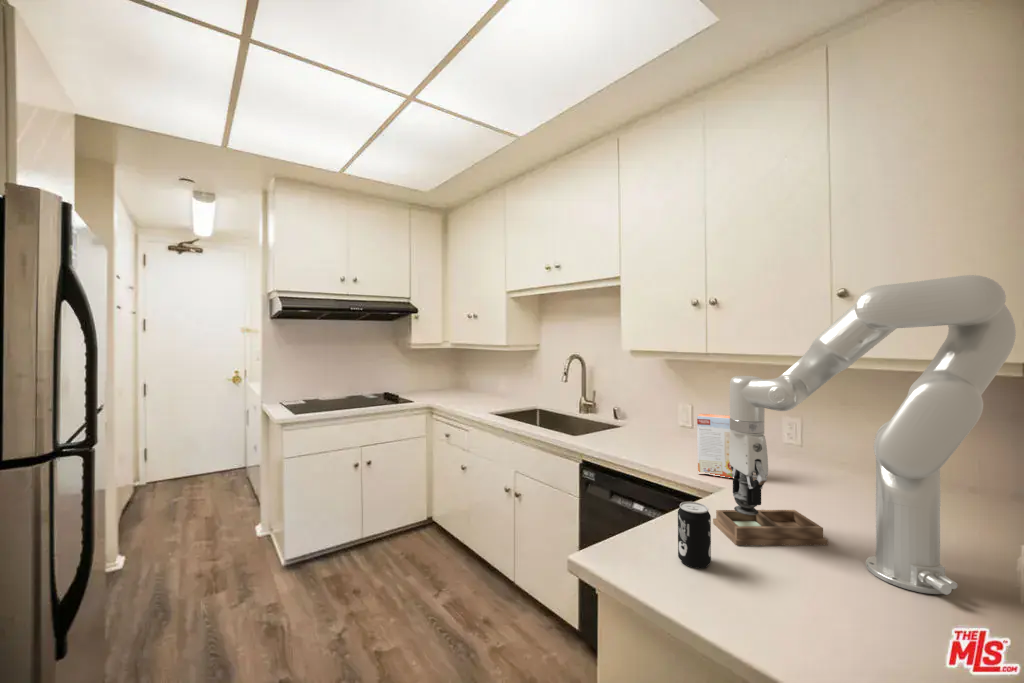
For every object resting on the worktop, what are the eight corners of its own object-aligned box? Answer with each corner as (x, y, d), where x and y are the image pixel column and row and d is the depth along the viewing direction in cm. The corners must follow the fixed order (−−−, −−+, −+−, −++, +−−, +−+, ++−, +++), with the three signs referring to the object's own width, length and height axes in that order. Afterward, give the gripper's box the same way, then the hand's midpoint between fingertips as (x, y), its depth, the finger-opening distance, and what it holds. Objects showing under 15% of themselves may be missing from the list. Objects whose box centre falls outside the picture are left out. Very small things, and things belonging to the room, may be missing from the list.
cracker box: (743, 476, 148) (743, 415, 148) (742, 481, 143) (742, 418, 143) (700, 469, 155) (699, 412, 155) (697, 474, 150) (696, 415, 150)
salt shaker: (763, 516, 102) (764, 466, 102) (737, 514, 103) (737, 465, 103) (755, 506, 108) (755, 459, 108) (729, 505, 109) (729, 458, 109)
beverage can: (708, 573, 88) (708, 515, 88) (675, 564, 92) (674, 508, 92) (712, 558, 94) (712, 504, 94) (681, 551, 97) (680, 498, 97)
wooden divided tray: (794, 522, 111) (794, 508, 111) (827, 545, 99) (827, 529, 99) (713, 523, 112) (712, 508, 112) (736, 545, 100) (736, 529, 100)
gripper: (783, 434, 96) (783, 514, 97) (743, 419, 114) (743, 486, 114) (750, 434, 97) (749, 514, 97) (715, 419, 114) (715, 486, 114)
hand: (746, 498), depth 105 cm, fingers closed on salt shaker, 5 cm apart
